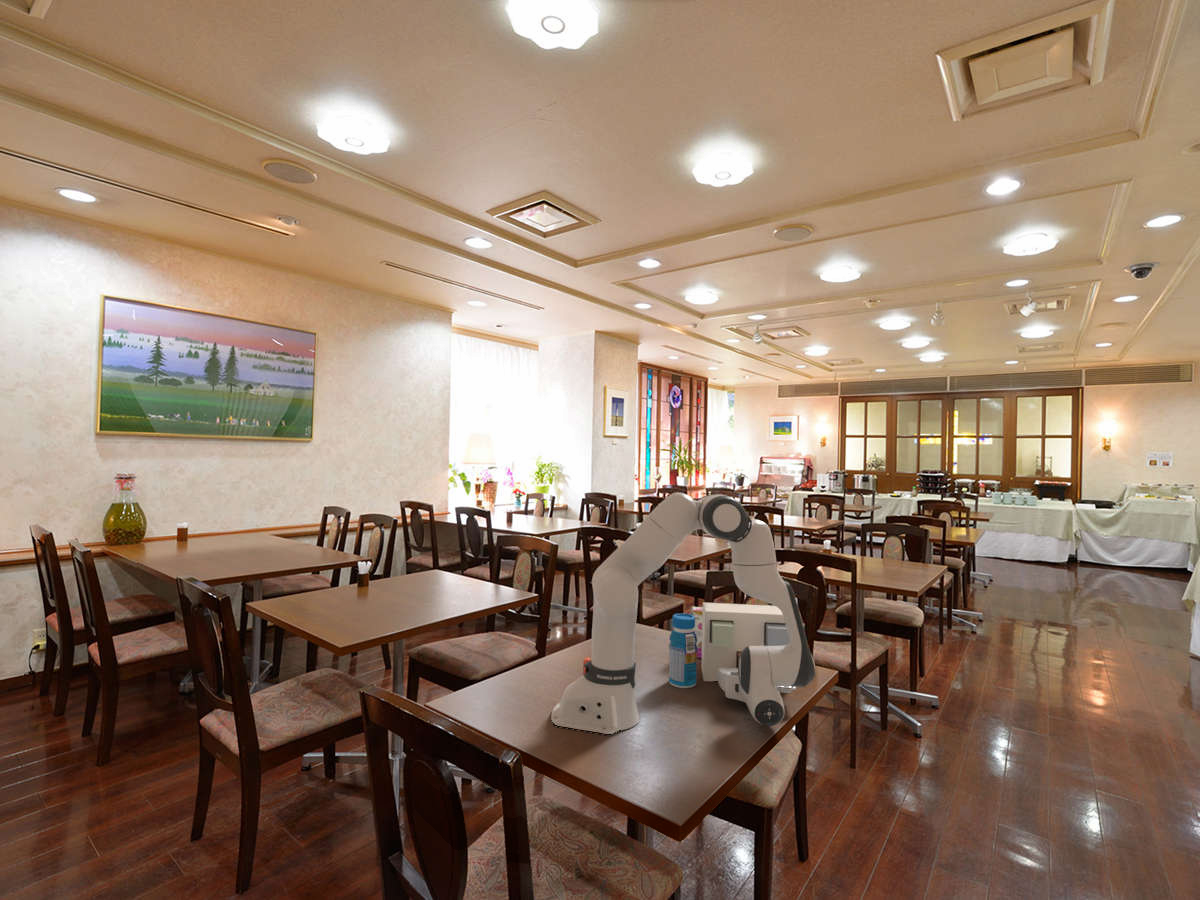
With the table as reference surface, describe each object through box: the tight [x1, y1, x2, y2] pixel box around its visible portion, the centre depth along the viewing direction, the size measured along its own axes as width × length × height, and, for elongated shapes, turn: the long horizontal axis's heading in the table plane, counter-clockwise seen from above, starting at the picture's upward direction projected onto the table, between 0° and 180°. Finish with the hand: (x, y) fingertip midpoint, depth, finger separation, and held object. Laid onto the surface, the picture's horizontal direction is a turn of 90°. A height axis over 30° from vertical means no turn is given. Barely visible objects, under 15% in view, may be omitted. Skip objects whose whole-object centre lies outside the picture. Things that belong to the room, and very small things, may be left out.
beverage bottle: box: [668, 613, 698, 689], centre depth 173 cm, size 8×8×20 cm
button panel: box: [700, 602, 785, 682], centre depth 180 cm, size 26×10×21 cm, turn 84°
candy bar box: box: [690, 606, 703, 660], centre depth 196 cm, size 11×5×16 cm, turn 84°
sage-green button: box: [711, 620, 734, 647], centre depth 174 cm, size 6×6×6 cm
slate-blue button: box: [765, 622, 789, 646], centre depth 173 cm, size 6×6×6 cm
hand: (750, 668), depth 170 cm, fingers closed
